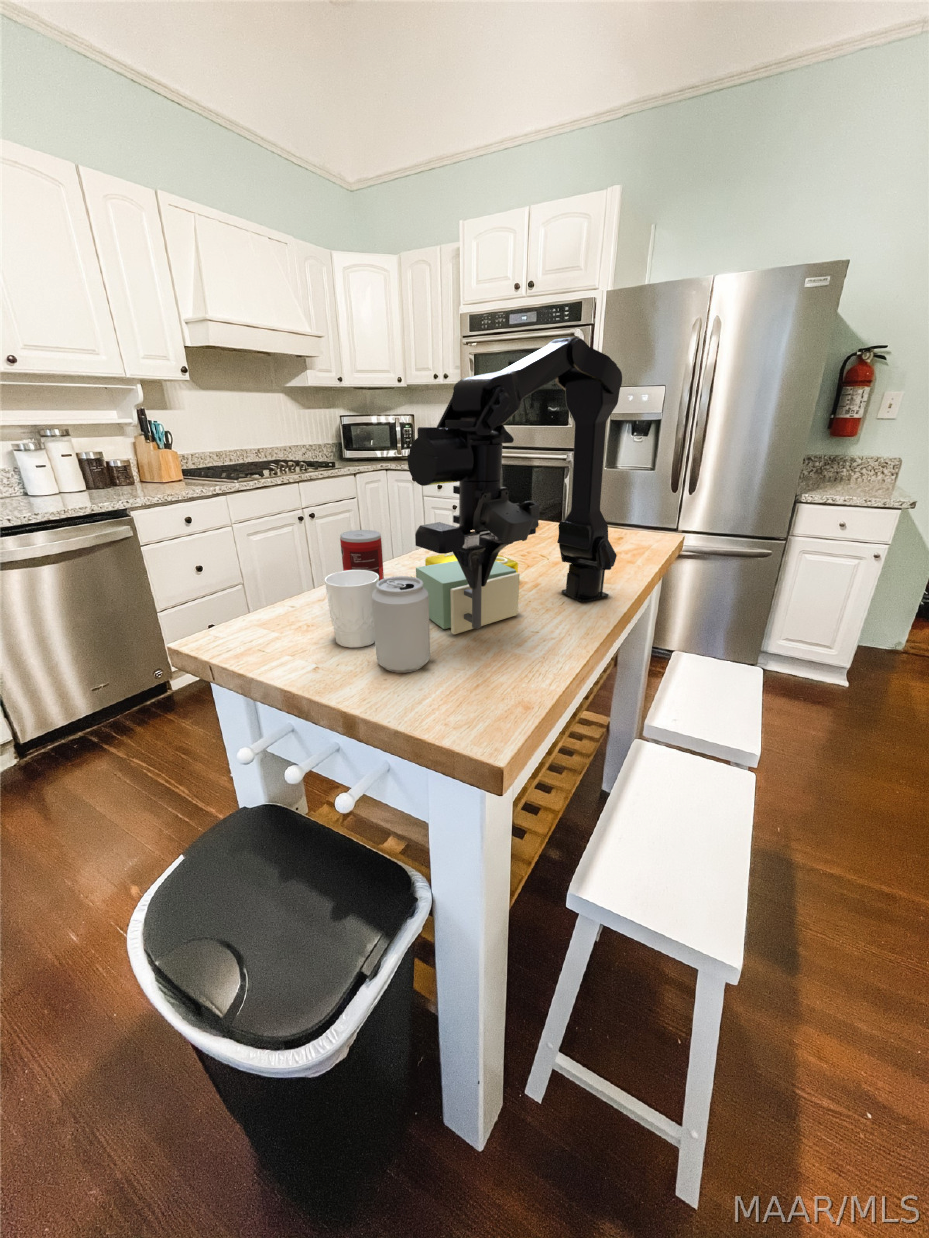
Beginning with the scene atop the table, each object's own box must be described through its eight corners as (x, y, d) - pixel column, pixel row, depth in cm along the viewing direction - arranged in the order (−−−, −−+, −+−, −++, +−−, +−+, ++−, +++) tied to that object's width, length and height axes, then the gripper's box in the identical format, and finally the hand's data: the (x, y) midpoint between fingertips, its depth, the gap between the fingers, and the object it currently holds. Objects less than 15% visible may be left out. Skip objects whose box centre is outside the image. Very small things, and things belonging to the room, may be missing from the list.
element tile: (479, 565, 114) (479, 545, 112) (521, 583, 102) (522, 560, 100) (422, 577, 106) (421, 555, 104) (460, 597, 95) (460, 573, 93)
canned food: (365, 580, 104) (360, 527, 100) (393, 587, 100) (389, 533, 96) (336, 590, 99) (330, 535, 94) (364, 598, 94) (360, 541, 90)
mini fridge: (484, 596, 95) (484, 556, 92) (514, 614, 87) (516, 570, 84) (417, 610, 89) (415, 567, 85) (443, 630, 81) (442, 583, 77)
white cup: (392, 632, 80) (388, 572, 76) (367, 653, 73) (362, 588, 69) (349, 625, 82) (343, 567, 78) (321, 645, 75) (313, 582, 72)
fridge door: (514, 613, 86) (517, 547, 82) (532, 621, 83) (535, 552, 79) (450, 633, 79) (449, 561, 74) (467, 642, 76) (467, 568, 71)
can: (422, 678, 66) (418, 593, 62) (368, 672, 68) (361, 589, 63) (436, 653, 73) (434, 575, 68) (387, 648, 74) (382, 571, 70)
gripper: (469, 493, 57) (467, 619, 63) (570, 480, 68) (560, 587, 74) (411, 482, 64) (414, 595, 71) (510, 472, 76) (506, 570, 82)
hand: (477, 587), depth 74 cm, fingers closed on fridge door
